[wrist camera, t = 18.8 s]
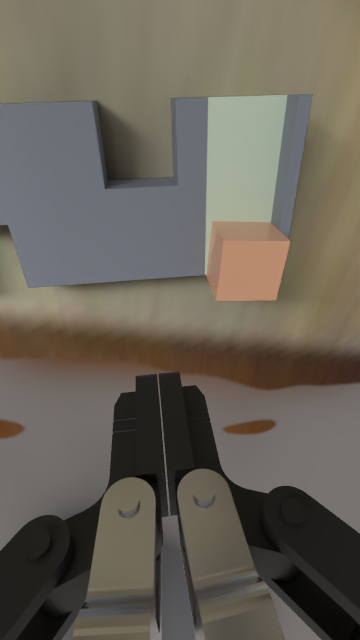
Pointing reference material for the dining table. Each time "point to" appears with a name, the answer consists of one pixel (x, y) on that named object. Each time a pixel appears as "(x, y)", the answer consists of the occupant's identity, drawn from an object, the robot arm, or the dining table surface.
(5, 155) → the board
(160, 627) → the robot arm
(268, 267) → the block
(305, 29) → the dining table surface
